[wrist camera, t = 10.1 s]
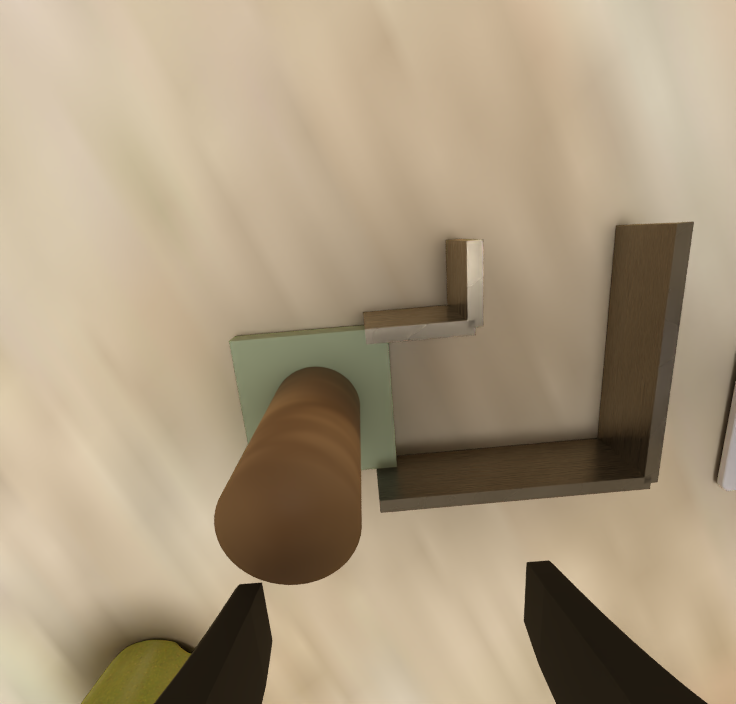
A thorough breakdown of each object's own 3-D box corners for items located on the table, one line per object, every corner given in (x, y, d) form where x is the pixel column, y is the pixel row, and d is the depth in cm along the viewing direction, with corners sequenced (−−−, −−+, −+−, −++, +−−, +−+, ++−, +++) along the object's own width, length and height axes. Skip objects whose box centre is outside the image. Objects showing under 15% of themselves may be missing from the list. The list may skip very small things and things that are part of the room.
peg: (356, 363, 18) (354, 454, 10) (363, 442, 19) (367, 578, 12) (267, 370, 18) (201, 467, 10) (280, 449, 19) (228, 590, 12)
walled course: (629, 224, 18) (693, 221, 14) (608, 447, 21) (656, 488, 18) (357, 247, 18) (358, 250, 14) (376, 467, 21) (380, 512, 17)
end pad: (385, 323, 19) (387, 327, 18) (395, 456, 21) (396, 466, 20) (235, 336, 19) (229, 341, 18) (259, 467, 21) (254, 479, 20)
